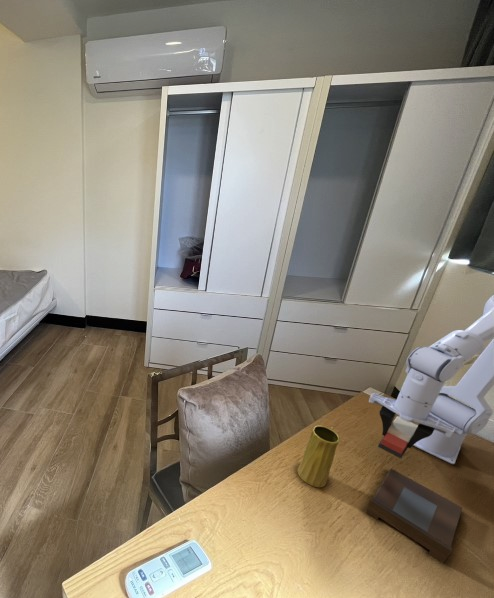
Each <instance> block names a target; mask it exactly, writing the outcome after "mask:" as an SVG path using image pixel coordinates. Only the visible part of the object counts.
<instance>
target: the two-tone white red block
mask: <svg viewBox="0 0 494 598" xmlns="http://www.w3.org/2000/svg"><path fill="white" fill-rule="evenodd" d="M418 425H419V424H417V423H415V422H413V421H411V422H407V421H405V420H403V419H401V418H400V417H399V415H397V416H395V419H393V421H392V424H391V426H390V427H389V429H388V432H387V434H386V435H385V436H384V435H383V437H382V438H381V440H380V441H379V442H378V445H377V448H379V449H382V450H384V451H386V452H387V453H389V454H391V455H393V456H395V457H397V458H399V459H403V457H404V455H405V453H406V452H407V450H408V449H409V448H408V447H406V446H407V444H408V443H409V441H410V439H411V438H412V436H413V435H414V433H415V430H416V428H417V427H418Z"/></svg>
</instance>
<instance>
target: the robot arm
mask: <svg viewBox="0 0 494 598" xmlns="http://www.w3.org/2000/svg"><path fill="white" fill-rule="evenodd" d="M491 339H492V340H491ZM489 340H491V341H490V342H489V343H488V344H487V346H486V347H485V345H486V344H485V343H486V342H488V341H489ZM480 353H481V354H480ZM478 354H480V355H479V356H478V357H477V359H476V360H475V361H474V363H473V364H472V365H471V366H470V367H469V368H468V370H467V371H466V373H465V374H464V375H463V376H462V378H460V380H459V381H458V383H456V385H448V386H447V385H445V384H446V382H448V381H449V380H452V379H453V378H454V377H455V376H456V375H457V374H458V372H459V371H460V370H461V369H463V367H464V364H465V363H466V362H467V361H469V360H470V359H472V358H474V357H475V356H477V355H478ZM405 364H406V369H405V371H404V372H405V374H406V377H405V379H404V382H403V384H402V386H401V388H400V391H399V393H398V395H397V398H396V399H393V398H390V397H386V396H384V395H380V394H377V393H374V392H373V393H371V395H370V396H369V399H368V403H369V404H372V405H373V404H376V405H378V406H380V407H381V408H380V410H379V417H380V419H381V422H382V423H381V424H382V434H381V435H382V436H383V437H384V436H385V435H386V434H387V432H388V429H389V427H390V426H391V424H392V423H393V421H394V420H395V419H394V418H396V415H397V416H398V417H400V418H401V419H403V420H405V421H407V422H412V423H416V424H417V425H418V427H417V428H416V430H415V433H414V435H413V436H412V438H411V439H410V441H409V443H408V444H407V446H406V447H408V448H407V449H411V448H412V447H413V446H414V447H415V448H418V449H419V450H422V451H424V452H426V453H428V454H429V455H432V456H434V457H435V458H438V459H440V460H443V461H445V462H447V463H449V464H450V465H455V464H456V460H457V459H458V455H459V453H460V451H461V447H462V444H463V443H464V441H465V439H466V438H467V436H468V435H477V434H478V433H480V432H481V431H482V430H483V429H484V428H485V427H486V426H487V425H488V424H489V420H490V418H491V417H492V416H493V413H494V411H493V409H492V407H491V406H490V404H489V403H488V402H487V399H485V396H486V395H487V394H488V393H489V391H491V389H492V388H493V387H494V294H493V295H491V296H490V297H489V299H487V300H486V302H485V304H484V306H483V311H482V315H481V316H480V317H479V318H478V319H477V320H475V321H474V322H473V323H472V324H471V325H470V326H468V327H467V328H465V330H464V329H456V330H453V331H451V332H449V333H448V334H446V335H445V336H442V337H441V338H440V339H438V340H437V341H436V342H434V343H432V344H431V345H429V346H418V347H416V348H414V350H412V351H411V352H410V354H409V355H408V357H407V358H406V361H405Z"/></svg>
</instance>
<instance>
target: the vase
mask: <svg viewBox="0 0 494 598" xmlns="http://www.w3.org/2000/svg"><path fill="white" fill-rule="evenodd" d="M340 440H341V438H340V436H339V434H338V433H337V432H336V431H334V430H333V429H332V428H331V427H328V426H325V425H315V426H314V427H313V428H312V431H311V434H310V435H309V439H308V442H307V444H306V447H305V450H304V452H303V455H302V458H301V460H300V463H299V465H298V467H297V469H296V470H297V474H298V476H299V478H300V479H301V480H302V481H304V482H305V483H306V484H308V485H309V486H311V487H314V488H324V487H325V486H327V483H328V477H329V475H330V472H331V468H332V465H333V461H334V458H335V455H336V454H335V452H336V450H337V447H338V445H339V443H340Z"/></svg>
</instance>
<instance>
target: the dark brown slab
mask: <svg viewBox="0 0 494 598" xmlns="http://www.w3.org/2000/svg"><path fill="white" fill-rule="evenodd" d="M376 491H377V492H376V493H375V495H374V497H373V498H372V499H371V501H370V503H369V505H368V507H367V509H366V511H365V512H366V514H368V515H369V516H370V517H372V518H374V519H375V520H379V518H380V519H381V520H382V521H384V522H386V523H388V525H391V526H392V527H394V529H397V530H398V531H400V532H401V533H403V534H404V535H406V536H407V537H409V538H410V539H412V540H413V541H415V542H416V543H418V544H419V545H421V546H422V547H424V548H426V550H429V551H428V555H430V556H431V557H432V558H434V559H435V560H437V561H438V562H440V563H441V564H444V562H445V561H446V560H447V558H448V557H449V555H450V554H451V553H452V550H453V547H452V543H453V540H454V536H455V533H456V530H457V527H458V524H459V520H460V517H461V514H462V510H463V506H461V505H459V504H457V503H456V502H453V501H452V500H450V499H449V498H446V497H445V496H442V495H440V494H439V493H437V492H435V491H433V490H431V488H430V489H429V488H427V487H426V486H424V485H423V484H420V483H419V482H417V481H415V480H413V479H411V478H410V477H408V476H406V475H404V474H402V473H401V472H399V471H397V470H395V469H393V468H389V471H388V473H387V474H386V476H385V478H384V479H383V481H382V483H381V484H380V486H379V488H378V490H376Z"/></svg>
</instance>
